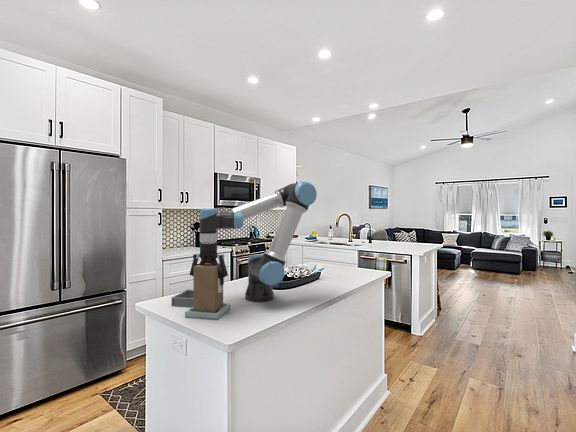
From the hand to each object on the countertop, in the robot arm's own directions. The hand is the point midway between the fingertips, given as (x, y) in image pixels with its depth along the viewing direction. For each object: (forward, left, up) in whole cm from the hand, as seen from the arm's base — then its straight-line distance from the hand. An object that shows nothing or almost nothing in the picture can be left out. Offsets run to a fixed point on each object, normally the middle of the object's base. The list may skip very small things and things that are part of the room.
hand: (208, 291), depth 140 cm
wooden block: (0, 0, -8) cm, 8 cm away
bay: (+15, -13, -10) cm, 22 cm away
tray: (0, 0, -10) cm, 10 cm away
